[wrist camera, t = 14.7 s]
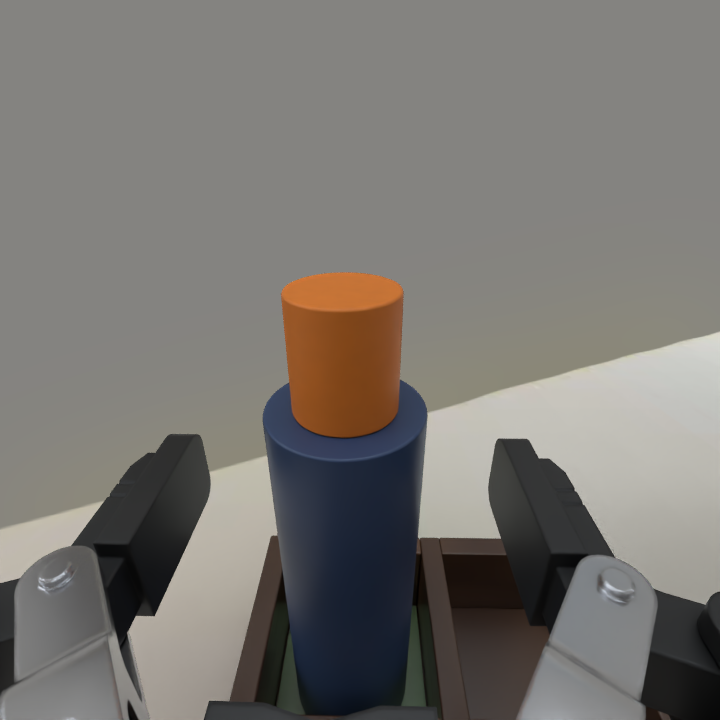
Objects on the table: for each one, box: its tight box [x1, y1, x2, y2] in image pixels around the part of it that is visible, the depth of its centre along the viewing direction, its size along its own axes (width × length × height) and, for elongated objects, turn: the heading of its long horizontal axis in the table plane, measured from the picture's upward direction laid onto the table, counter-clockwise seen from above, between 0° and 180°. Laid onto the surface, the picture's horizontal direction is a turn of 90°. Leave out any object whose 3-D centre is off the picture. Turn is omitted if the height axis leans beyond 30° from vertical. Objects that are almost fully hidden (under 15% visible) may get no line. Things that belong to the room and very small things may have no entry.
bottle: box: [263, 273, 428, 716], centre depth 13 cm, size 4×4×15 cm
